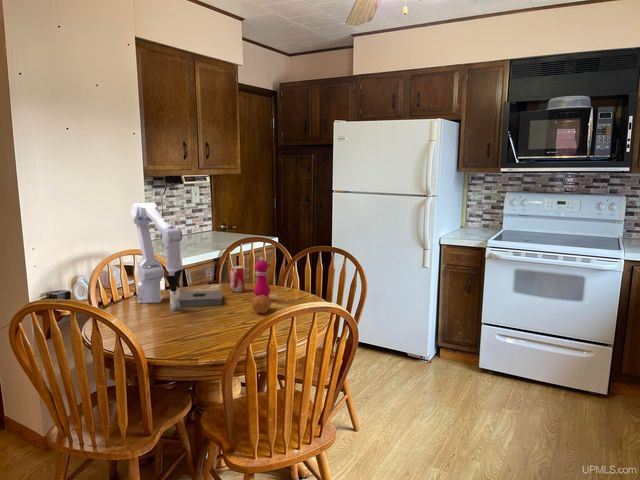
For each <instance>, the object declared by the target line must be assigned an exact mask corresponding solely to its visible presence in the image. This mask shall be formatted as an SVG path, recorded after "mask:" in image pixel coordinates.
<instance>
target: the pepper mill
mask: <svg viewBox="0 0 640 480" xmlns="http://www.w3.org/2000/svg"><path fill="white" fill-rule="evenodd" d="M254 265H255V266H254V268H255V270H256V275H257V281H256V284H255V286H254V289H253V293H254V295H255V297H254V299H255V298H256V297H257V296H258V295H265V296H267V297H268V298H269V299H270V296H269V295H270V293H271V288H270V285H269V283H268V280H267V279H268V278H267V275H268V269H269V263H268V261H266V260H265V259H264V257H263V256H261V257H259V260H258V261H256V263H255V264H254Z"/></svg>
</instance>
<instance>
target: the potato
mask: <svg viewBox="0 0 640 480" xmlns="http://www.w3.org/2000/svg"><path fill="white" fill-rule="evenodd" d="M255 297H256V296H255ZM255 297H254V299H253V301H252V308H253V310H254V312H255V313H257V314H266V313H268V311H269V308H270V307H272V305H271V304H272V302H271V299H270V297H269V298H268V297H267V296H265V295H258V296H257V297H256V298H255Z"/></svg>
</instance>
